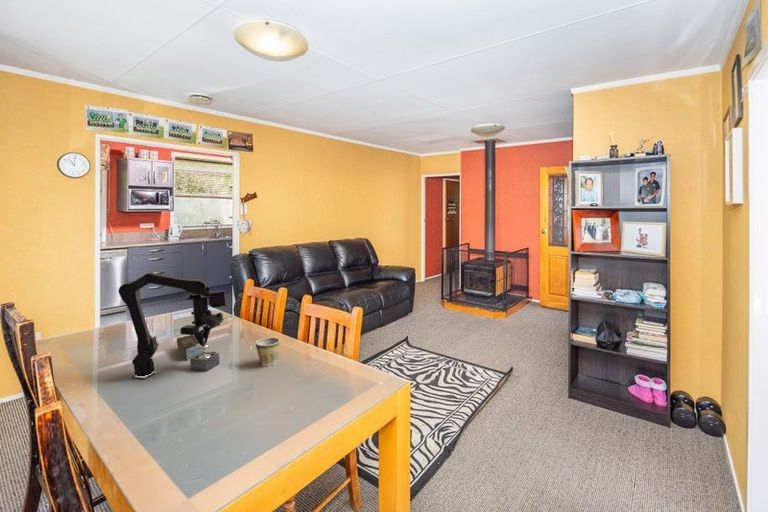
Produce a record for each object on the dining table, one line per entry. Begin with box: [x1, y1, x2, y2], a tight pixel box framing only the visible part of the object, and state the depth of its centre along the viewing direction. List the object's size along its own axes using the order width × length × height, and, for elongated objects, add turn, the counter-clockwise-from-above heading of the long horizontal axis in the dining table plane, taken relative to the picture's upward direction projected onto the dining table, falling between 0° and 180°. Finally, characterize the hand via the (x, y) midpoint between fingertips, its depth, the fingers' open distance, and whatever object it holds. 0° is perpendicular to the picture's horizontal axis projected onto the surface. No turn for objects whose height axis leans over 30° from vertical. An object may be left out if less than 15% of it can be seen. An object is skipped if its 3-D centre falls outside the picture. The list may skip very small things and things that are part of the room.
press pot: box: [189, 351, 221, 372], centre depth 168 cm, size 10×8×5 cm
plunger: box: [198, 337, 211, 359], centre depth 166 cm, size 5×5×9 cm
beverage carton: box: [176, 335, 203, 361], centre depth 184 cm, size 8×19×7 cm, turn 38°
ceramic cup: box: [255, 337, 280, 367], centre depth 170 cm, size 13×10×10 cm
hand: (203, 344), depth 166 cm, fingers closed on plunger, 2 cm apart
